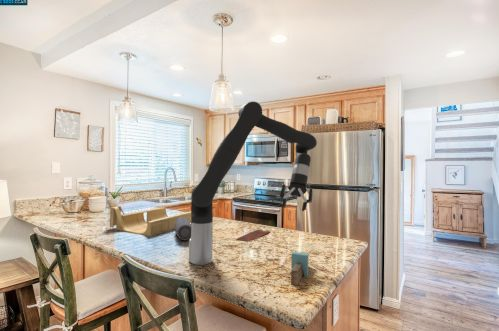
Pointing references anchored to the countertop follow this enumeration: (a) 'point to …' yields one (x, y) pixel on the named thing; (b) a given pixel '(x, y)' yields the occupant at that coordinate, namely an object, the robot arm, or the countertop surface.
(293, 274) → the walnut slotted plate
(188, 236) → the bluetooth speaker
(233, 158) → the robot arm
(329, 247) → the countertop surface
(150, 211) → the skate ramp
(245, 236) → the wooden tablet
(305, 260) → the teal notched bridge block
